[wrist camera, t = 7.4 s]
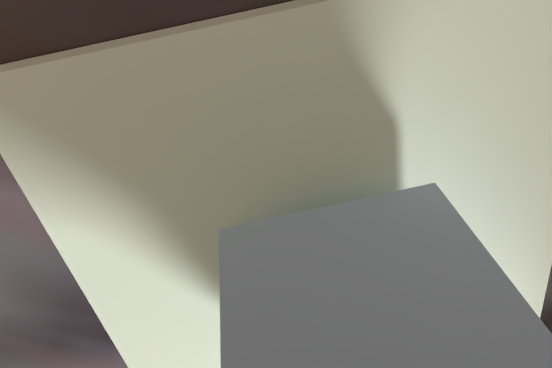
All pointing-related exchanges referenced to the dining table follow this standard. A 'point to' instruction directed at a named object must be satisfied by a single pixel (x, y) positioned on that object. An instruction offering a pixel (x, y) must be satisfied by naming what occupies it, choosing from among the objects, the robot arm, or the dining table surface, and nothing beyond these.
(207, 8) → the dining table surface
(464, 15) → the pad
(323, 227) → the block
